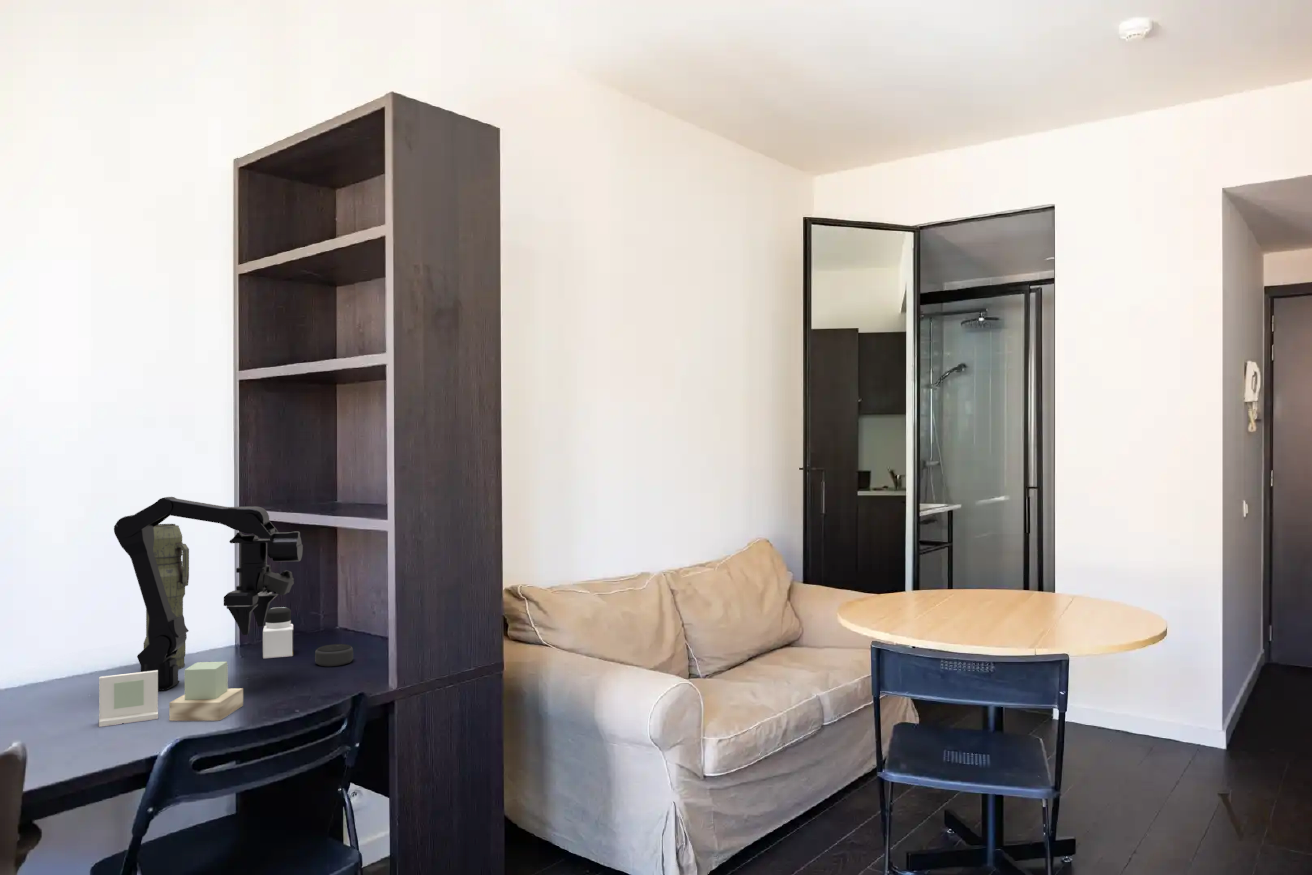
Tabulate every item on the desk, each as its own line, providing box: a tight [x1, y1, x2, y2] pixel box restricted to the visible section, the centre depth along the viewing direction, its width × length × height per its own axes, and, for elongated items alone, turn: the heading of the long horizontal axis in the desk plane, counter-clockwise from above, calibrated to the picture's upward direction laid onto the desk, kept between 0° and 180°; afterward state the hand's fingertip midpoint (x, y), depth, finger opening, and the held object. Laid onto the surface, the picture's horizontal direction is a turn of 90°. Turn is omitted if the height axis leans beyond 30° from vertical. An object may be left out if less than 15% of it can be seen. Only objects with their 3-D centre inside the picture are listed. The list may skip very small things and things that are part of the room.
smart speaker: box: [314, 643, 354, 667], centre depth 223 cm, size 9×9×4 cm
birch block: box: [168, 687, 244, 722], centre depth 182 cm, size 10×10×4 cm
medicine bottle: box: [262, 606, 294, 659], centre depth 232 cm, size 7×7×12 cm
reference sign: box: [98, 670, 159, 728], centre depth 178 cm, size 10×5×9 cm, turn 120°
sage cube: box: [184, 661, 228, 700], centre depth 182 cm, size 6×6×6 cm
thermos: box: [143, 523, 190, 670], centre depth 219 cm, size 9×12×35 cm
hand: (253, 630), depth 205 cm, fingers open, 9 cm apart
